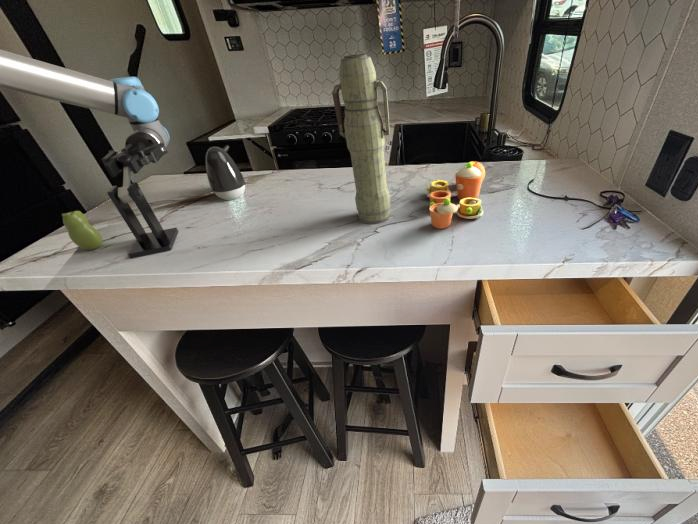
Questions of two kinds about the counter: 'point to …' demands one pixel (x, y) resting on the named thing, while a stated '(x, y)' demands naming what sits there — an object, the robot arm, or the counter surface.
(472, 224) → the counter surface
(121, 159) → the lever with ball knob
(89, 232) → the pear
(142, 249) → the dark grey slanted stand
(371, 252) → the counter surface
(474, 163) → the clementine
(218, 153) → the pump dispenser
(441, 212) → the toy tea set
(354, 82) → the thermos
